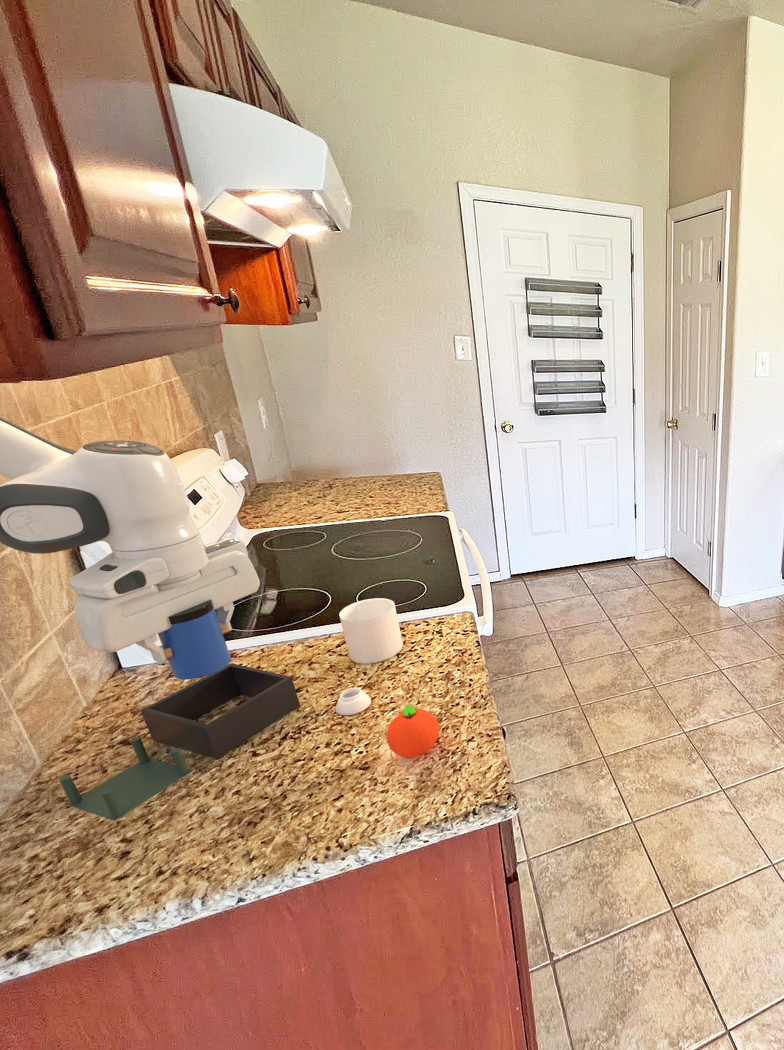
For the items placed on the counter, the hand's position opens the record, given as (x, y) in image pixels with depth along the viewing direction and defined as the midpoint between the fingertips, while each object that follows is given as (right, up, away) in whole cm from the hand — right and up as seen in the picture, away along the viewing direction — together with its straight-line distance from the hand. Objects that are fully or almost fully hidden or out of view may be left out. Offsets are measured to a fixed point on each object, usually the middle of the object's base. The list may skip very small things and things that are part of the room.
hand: (195, 645), depth 83 cm
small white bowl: (+16, -13, +12) cm, 24 cm away
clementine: (+31, -17, +3) cm, 35 cm away
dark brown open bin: (0, -14, +7) cm, 16 cm away
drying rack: (-3, -19, -6) cm, 20 cm away
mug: (+9, -6, +29) cm, 31 cm away
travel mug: (0, -3, +1) cm, 4 cm away
